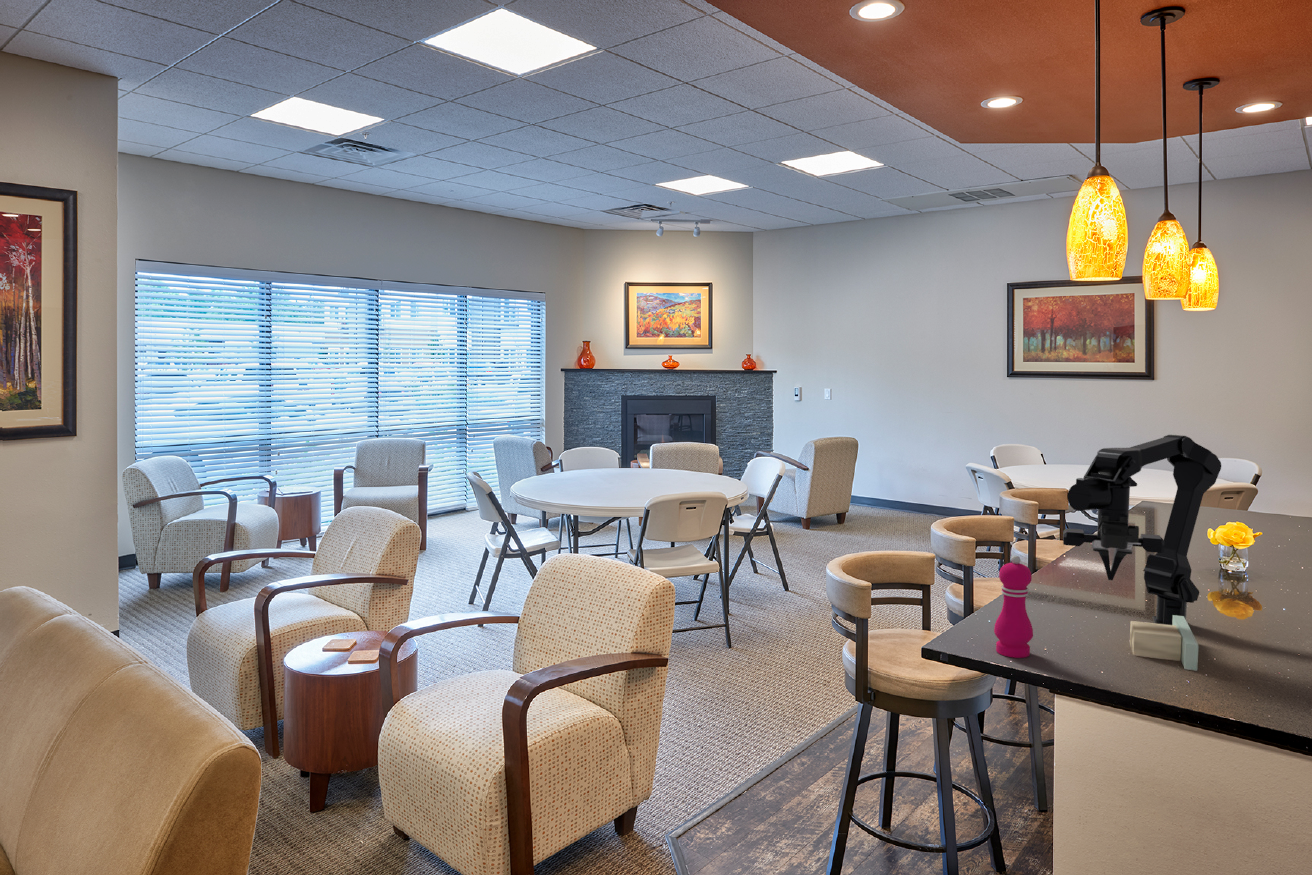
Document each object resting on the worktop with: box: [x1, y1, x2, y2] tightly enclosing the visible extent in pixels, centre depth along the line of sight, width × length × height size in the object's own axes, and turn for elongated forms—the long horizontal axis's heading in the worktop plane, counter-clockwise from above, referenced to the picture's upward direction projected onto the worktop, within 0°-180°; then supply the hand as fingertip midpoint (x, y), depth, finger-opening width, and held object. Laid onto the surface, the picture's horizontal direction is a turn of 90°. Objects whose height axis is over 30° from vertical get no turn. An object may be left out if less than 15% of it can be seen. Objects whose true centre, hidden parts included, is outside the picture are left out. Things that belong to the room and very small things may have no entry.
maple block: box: [1129, 620, 1182, 662], centre depth 167 cm, size 8×8×5 cm
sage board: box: [1172, 615, 1199, 672], centre depth 166 cm, size 20×2×5 cm, turn 154°
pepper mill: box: [993, 555, 1034, 659], centre depth 166 cm, size 7×7×20 cm
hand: (1110, 579), depth 177 cm, fingers closed
